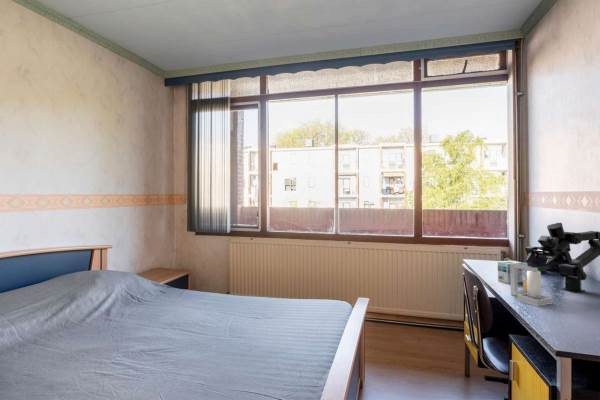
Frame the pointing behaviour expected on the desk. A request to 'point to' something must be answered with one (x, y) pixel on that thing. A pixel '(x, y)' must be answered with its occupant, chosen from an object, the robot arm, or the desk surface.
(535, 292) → the white cylinder
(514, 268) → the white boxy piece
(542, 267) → the storage jar
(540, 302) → the gray square tray
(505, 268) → the light bulb box
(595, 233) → the robot arm
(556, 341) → the desk surface
